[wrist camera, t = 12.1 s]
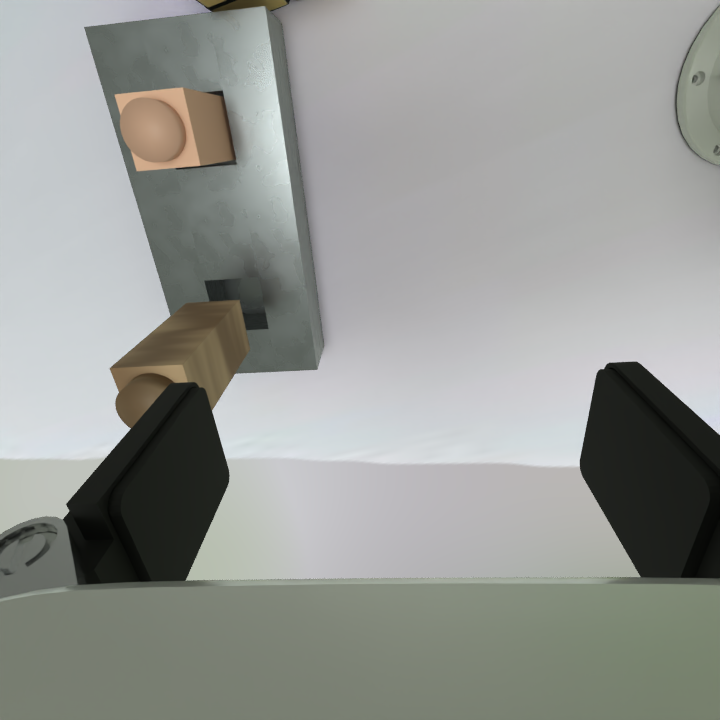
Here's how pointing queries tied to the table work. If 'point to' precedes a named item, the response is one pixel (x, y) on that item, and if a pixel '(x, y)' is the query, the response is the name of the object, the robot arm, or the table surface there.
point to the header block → (225, 177)
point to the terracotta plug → (175, 128)
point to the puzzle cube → (241, 4)
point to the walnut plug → (182, 356)
